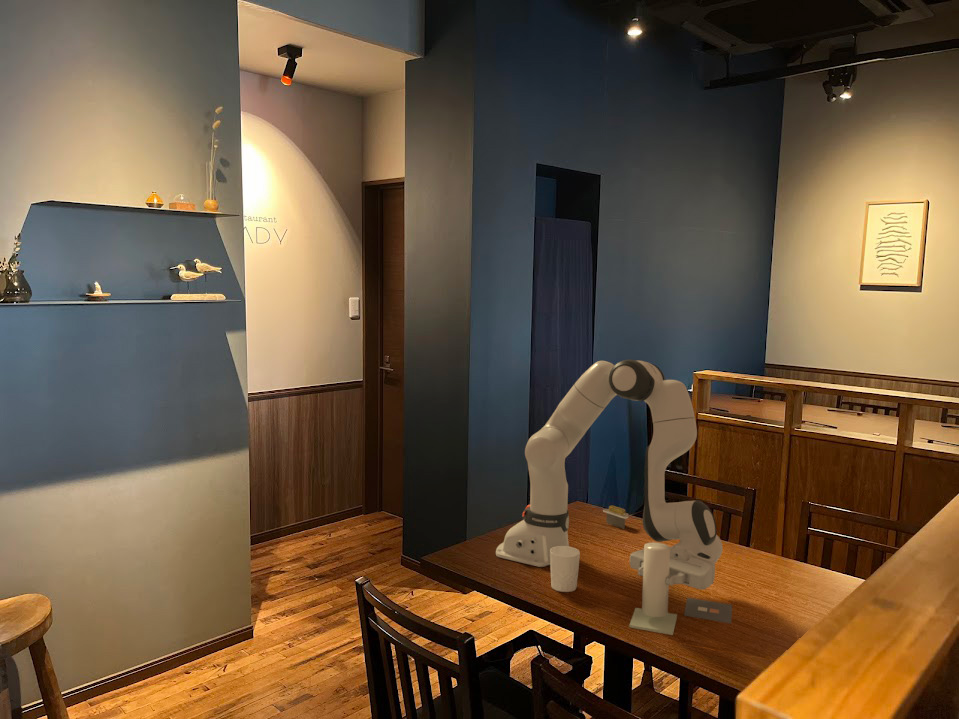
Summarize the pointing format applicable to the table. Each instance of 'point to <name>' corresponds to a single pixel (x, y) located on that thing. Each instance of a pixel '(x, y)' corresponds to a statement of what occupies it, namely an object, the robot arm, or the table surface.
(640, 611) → the coaster pad
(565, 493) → the robot arm
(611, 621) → the table surface
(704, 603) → the mat
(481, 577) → the table surface
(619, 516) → the platform
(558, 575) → the white cup
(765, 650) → the table surface
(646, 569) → the ceramic canister
